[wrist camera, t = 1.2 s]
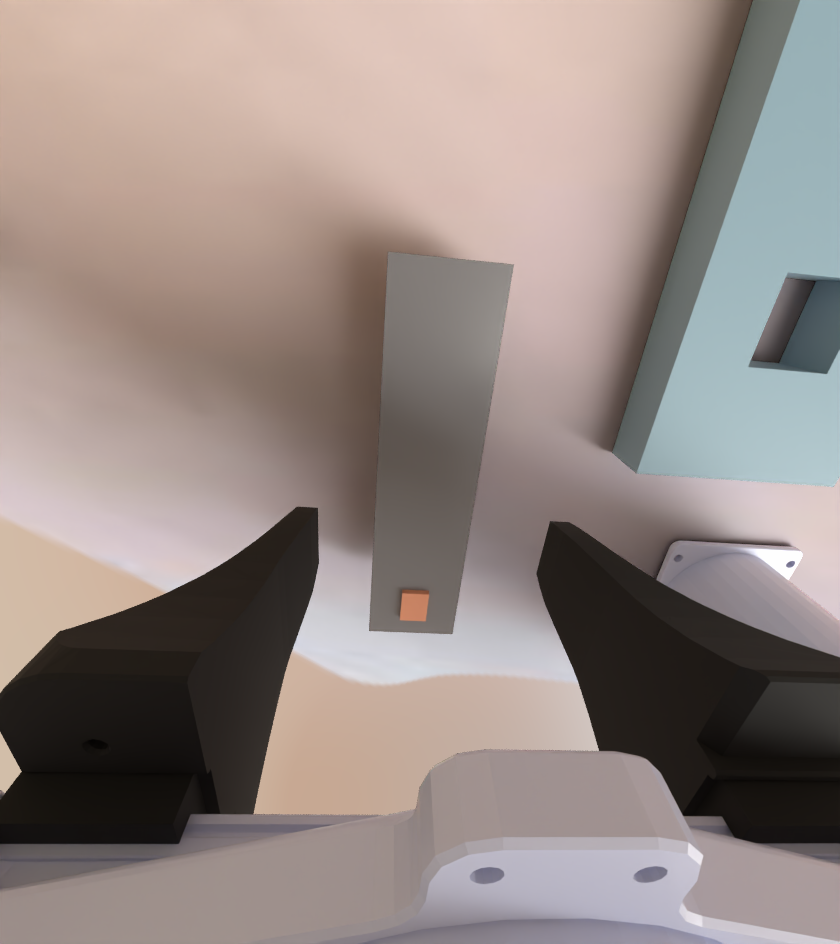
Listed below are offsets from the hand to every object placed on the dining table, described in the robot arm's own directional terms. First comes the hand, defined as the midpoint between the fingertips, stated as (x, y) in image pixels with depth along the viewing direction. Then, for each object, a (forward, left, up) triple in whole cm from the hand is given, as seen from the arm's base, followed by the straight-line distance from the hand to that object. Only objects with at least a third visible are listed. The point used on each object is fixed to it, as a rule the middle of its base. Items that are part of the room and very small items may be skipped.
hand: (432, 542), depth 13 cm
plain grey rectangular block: (0, 0, -9) cm, 9 cm away
